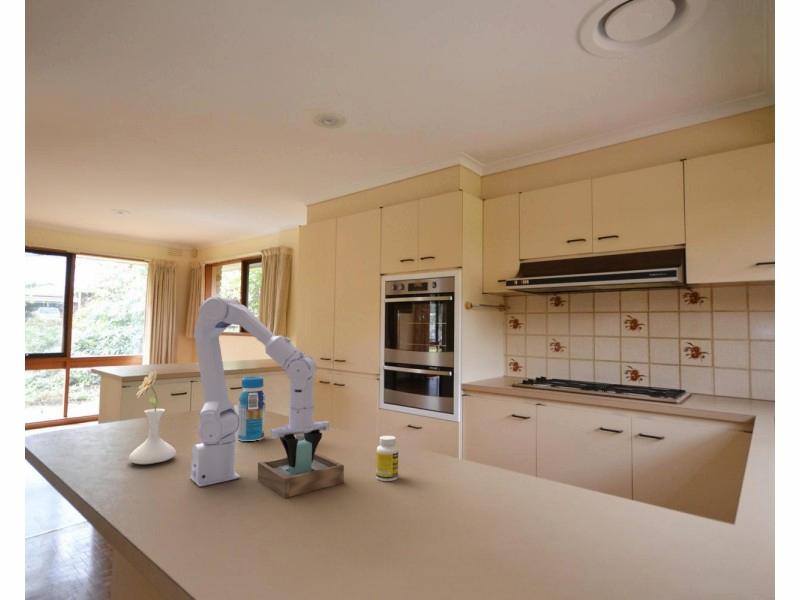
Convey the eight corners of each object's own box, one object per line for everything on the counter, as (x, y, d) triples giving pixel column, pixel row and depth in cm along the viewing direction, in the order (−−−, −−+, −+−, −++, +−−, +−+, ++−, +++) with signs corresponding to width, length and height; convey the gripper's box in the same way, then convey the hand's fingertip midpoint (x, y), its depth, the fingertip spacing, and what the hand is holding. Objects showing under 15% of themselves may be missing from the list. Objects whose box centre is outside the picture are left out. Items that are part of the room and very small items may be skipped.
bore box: (284, 498, 94) (284, 479, 95) (257, 479, 106) (257, 462, 106) (343, 482, 104) (343, 465, 104) (313, 466, 115) (313, 451, 116)
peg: (296, 480, 102) (296, 446, 103) (288, 476, 105) (289, 442, 106) (311, 477, 105) (311, 443, 105) (303, 472, 108) (304, 440, 108)
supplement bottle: (395, 482, 104) (395, 440, 105) (373, 481, 105) (373, 439, 106) (400, 475, 109) (400, 435, 110) (379, 473, 110) (379, 434, 111)
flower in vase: (133, 457, 123) (136, 368, 124) (178, 453, 127) (181, 367, 128) (122, 472, 111) (126, 372, 112) (172, 467, 115) (175, 371, 116)
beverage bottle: (231, 441, 140) (233, 378, 142) (248, 435, 149) (249, 376, 150) (254, 443, 138) (255, 379, 139) (269, 437, 146) (271, 376, 147)
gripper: (280, 413, 98) (279, 475, 97) (336, 406, 107) (335, 462, 107) (267, 408, 104) (266, 467, 103) (321, 402, 113) (320, 455, 112)
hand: (300, 464), depth 105 cm, fingers closed on peg, 4 cm apart
